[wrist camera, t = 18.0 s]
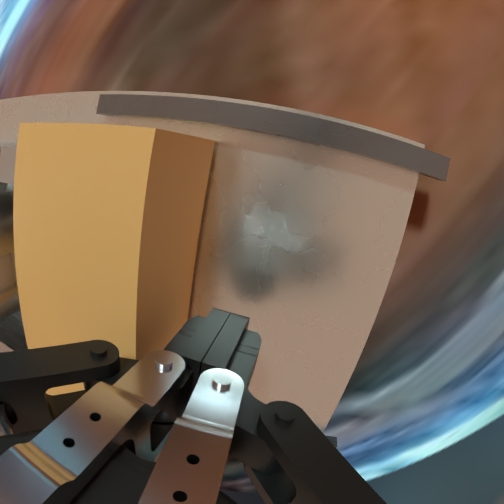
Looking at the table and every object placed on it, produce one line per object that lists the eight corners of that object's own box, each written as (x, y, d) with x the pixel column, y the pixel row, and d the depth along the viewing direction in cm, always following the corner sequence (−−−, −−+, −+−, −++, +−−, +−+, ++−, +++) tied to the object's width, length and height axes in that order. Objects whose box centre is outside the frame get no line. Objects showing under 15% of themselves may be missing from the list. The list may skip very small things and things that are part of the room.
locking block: (215, 141, 13) (155, 128, 8) (179, 395, 17) (141, 462, 12) (102, 128, 13) (19, 123, 8) (95, 361, 18) (45, 411, 12)
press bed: (432, 152, 13) (505, 150, 7) (329, 433, 18) (328, 512, 12) (6, 102, 16) (-60, 100, 10) (6, 314, 21) (-43, 345, 15)
